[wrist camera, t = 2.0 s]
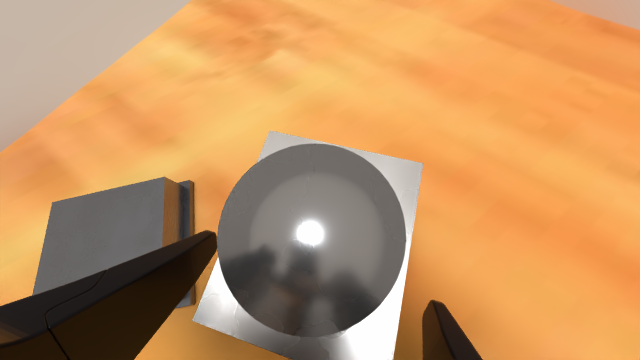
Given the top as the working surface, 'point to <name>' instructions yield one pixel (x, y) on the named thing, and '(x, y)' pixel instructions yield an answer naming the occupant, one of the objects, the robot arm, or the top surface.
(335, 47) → the top surface
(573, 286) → the top surface
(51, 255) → the stand
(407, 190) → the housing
